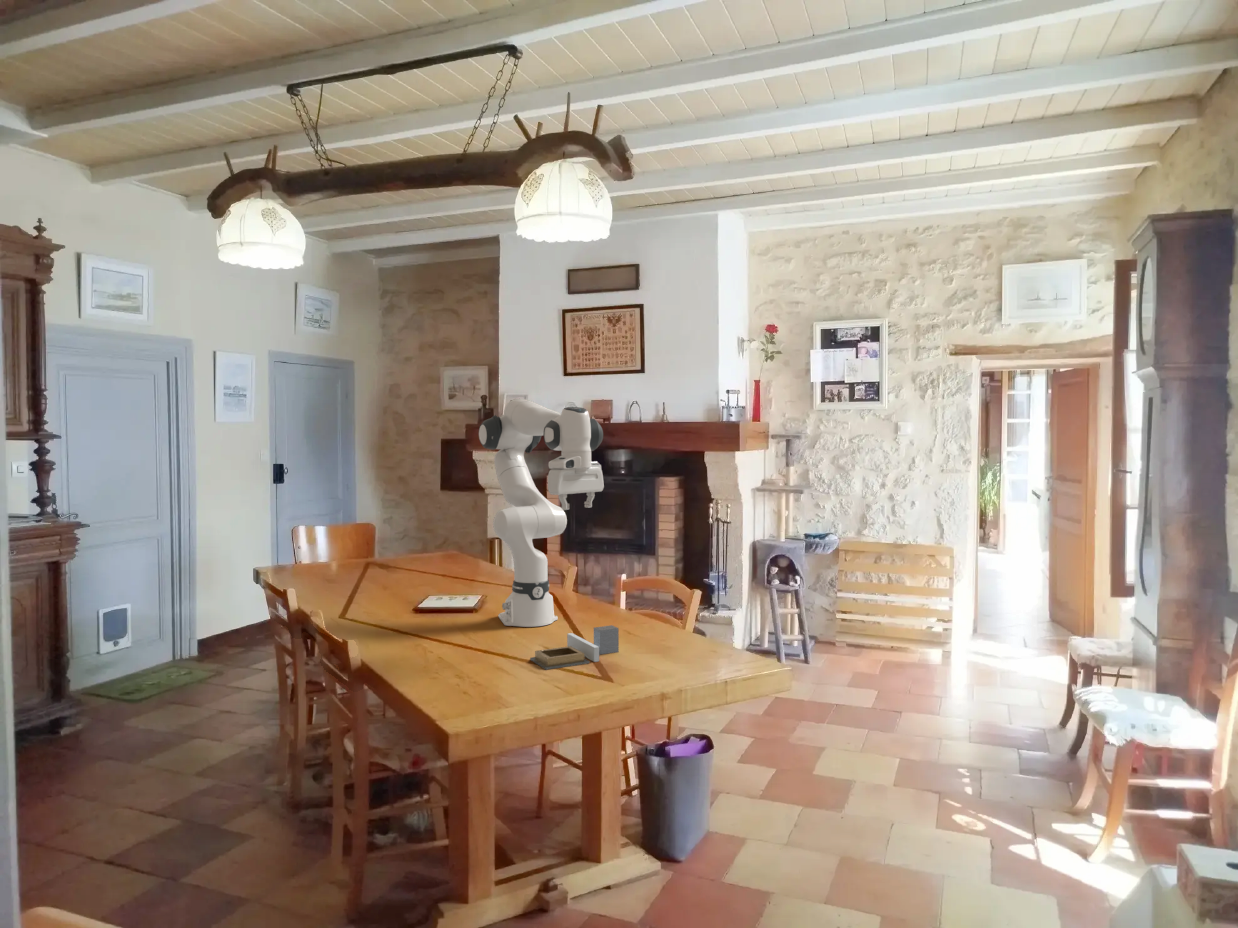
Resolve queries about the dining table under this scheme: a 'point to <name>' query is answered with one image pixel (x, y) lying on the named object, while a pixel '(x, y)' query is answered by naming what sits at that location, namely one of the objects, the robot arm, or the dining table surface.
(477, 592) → the dining table surface
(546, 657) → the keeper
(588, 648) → the door edge
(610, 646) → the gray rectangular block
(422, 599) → the dining table surface
